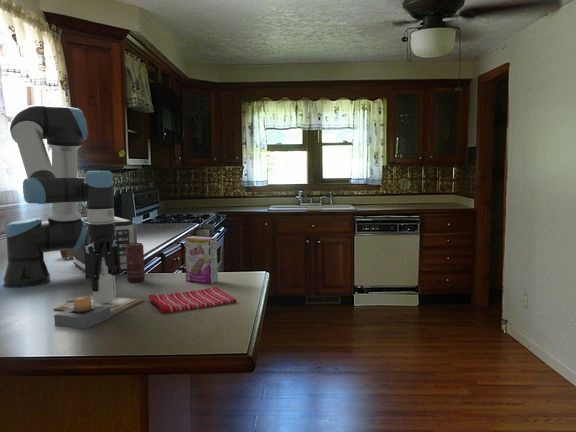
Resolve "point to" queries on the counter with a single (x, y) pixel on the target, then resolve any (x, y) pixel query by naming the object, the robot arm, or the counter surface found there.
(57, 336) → the counter surface
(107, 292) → the eye dropper bottle
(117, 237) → the toaster
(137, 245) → the can
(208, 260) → the candy bar box
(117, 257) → the robot arm
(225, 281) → the counter surface
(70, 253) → the ceramic cup
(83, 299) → the button
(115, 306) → the brown picture frame
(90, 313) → the button housing
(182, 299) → the dish towel
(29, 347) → the counter surface
